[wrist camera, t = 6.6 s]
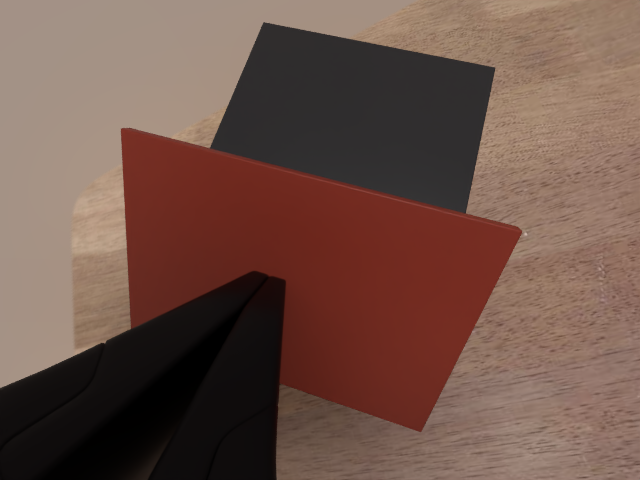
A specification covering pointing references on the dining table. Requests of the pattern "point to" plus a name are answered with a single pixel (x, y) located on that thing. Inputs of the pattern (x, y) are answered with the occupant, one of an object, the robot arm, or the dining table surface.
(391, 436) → the dining table surface
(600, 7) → the dining table surface
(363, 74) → the black flip box
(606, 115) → the dining table surface
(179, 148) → the lid
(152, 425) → the robot arm
